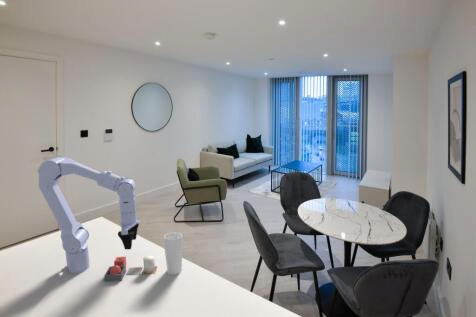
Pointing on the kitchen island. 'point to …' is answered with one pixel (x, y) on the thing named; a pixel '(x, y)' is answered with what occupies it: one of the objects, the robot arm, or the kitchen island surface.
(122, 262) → the red block with knob
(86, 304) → the kitchen island surface
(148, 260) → the ivory pawn
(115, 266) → the pop dome
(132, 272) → the game board
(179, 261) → the drinking glass
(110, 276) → the pop dome base
